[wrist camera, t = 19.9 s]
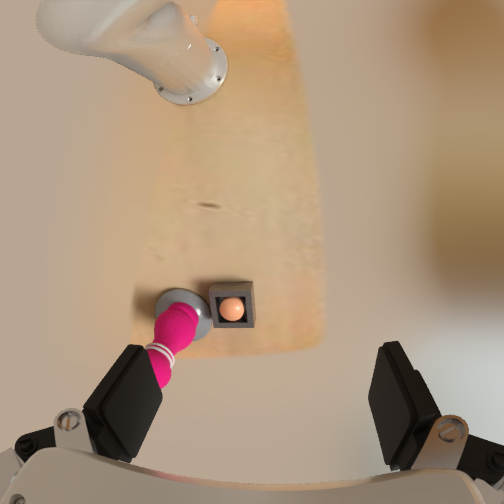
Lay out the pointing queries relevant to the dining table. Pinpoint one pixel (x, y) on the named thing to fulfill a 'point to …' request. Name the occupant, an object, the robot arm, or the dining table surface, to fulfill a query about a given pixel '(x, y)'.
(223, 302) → the button
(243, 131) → the dining table surface
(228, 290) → the button housing
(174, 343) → the pepper mill
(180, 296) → the pad
